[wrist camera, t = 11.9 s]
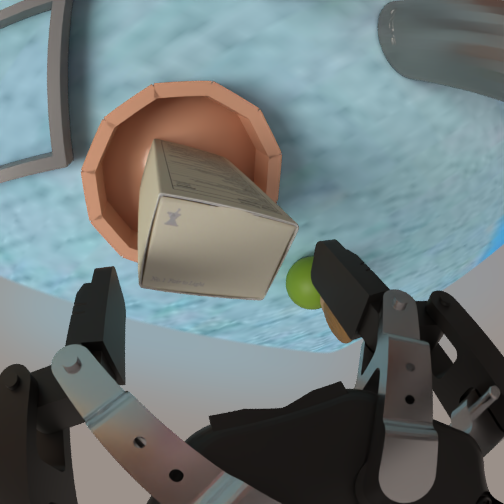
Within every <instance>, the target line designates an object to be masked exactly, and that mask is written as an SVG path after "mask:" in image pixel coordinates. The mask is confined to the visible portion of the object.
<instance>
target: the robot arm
mask: <svg viewBox="0 0 504 504" xmlns="http://www.w3.org/2000/svg"><path fill="white" fill-rule="evenodd" d="M378 36H379V41H380V45H381V47H382V50H383V53H384V55H385V56H386V58H387V60H388V62H389V63H390V64H391V66H392V67H393V68H394V69H395V70H396V71H397V72H398V73H399V74H401V75H402V76H404V77H406V78H409V79H414V80H420V81H426V82H431V83H436V84H440V85H445V86H450V87H454V88H458V89H462V90H466V91H470V92H473V93H477V94H481V95H484V96H487V97H490V98H494V99H497V100H500V101H503V102H504V0H399V1H393V2H390V3H388V4H387V5H385V6H384V8H383V9H382V10H381V13H380V15H379V19H378ZM311 281H312V284H313V286H314V287H315V289H316V290H317V292H318V293H319V294H320V296H321V297H322V299H323V300H324V302H325V303H326V305H327V306H328V307H329V309H330V310H331V312H332V313H333V315H334V316H335V318H336V319H337V320H338V322H339V323H340V325H341V326H342V328H343V329H344V331H345V332H346V334H347V335H348V337H349V338H350V340H354V339H357V338H360V337H362V338H363V339H364V341H363V343H362V346H361V353H360V361H359V368H358V375H357V381H356V384H355V388H354V389H345V387H344V385H343V384H342V382H341V381H340V382H337V383H334V384H331V385H328V386H325V387H322V388H319V389H316V390H313V391H311V392H309V393H308V394H306V395H304V396H303V397H301V398H300V399H298V400H296V401H294V402H293V403H291V404H289V405H288V406H286V407H283V408H277V409H276V408H275V409H242V410H238V411H233V412H228V413H223V414H217V415H212V416H209V420H210V425H209V426H206V427H204V428H202V429H201V430H199V431H197V432H195V433H194V434H193V435H191V436H190V437H189V438H188V439H187V440H186V441H185V442H184V441H183V440H182V439H180V438H179V437H178V436H177V435H175V434H174V433H173V432H172V431H171V430H170V429H169V428H167V427H166V426H165V425H164V424H163V423H162V422H161V421H159V420H158V419H157V418H156V417H155V416H154V415H153V414H152V413H151V412H150V411H149V410H148V409H147V408H145V407H144V406H143V405H142V404H141V403H140V402H139V401H138V400H137V399H136V398H135V397H134V396H133V395H132V394H131V393H130V392H128V391H126V392H125V391H124V390H123V389H122V388H121V387H120V386H119V385H125V321H126V309H125V302H124V298H123V294H122V291H121V287H120V284H119V280H118V276H117V273H116V269H115V267H114V266H112V267H104V268H96V269H95V270H94V273H93V278H92V282H91V283H85V284H83V286H82V287H81V288H80V290H79V291H78V292H77V294H76V298H75V302H74V307H73V311H72V315H71V320H70V325H69V330H68V334H67V340H66V345H65V347H63V348H62V349H60V350H59V351H58V352H57V353H56V354H55V356H54V358H53V360H52V364H51V365H50V366H48V367H45V368H42V369H40V370H37V371H34V372H31V373H30V372H29V371H28V370H27V368H26V367H25V366H23V365H20V364H13V365H11V366H8V367H7V368H6V369H5V370H4V371H3V372H2V373H1V375H0V504H78V503H77V497H76V491H75V485H74V477H73V469H72V459H71V446H70V427H72V426H75V425H78V424H81V423H84V422H86V425H87V426H88V428H89V429H90V430H91V432H92V433H93V434H94V435H95V437H96V438H97V439H98V440H99V441H100V443H101V444H102V445H103V446H104V447H105V449H106V450H107V451H108V452H109V453H110V454H111V455H112V456H113V458H114V459H115V460H116V461H117V462H118V463H119V464H120V465H121V466H122V467H123V468H124V469H125V470H126V471H127V472H128V473H129V474H130V475H131V476H132V477H133V478H134V479H135V480H136V481H137V482H138V483H139V484H140V485H141V486H142V487H143V488H144V489H145V490H146V491H147V492H148V493H149V494H151V497H150V499H149V500H148V502H147V504H503V503H501V502H500V501H498V500H496V499H495V498H494V497H493V496H492V495H491V494H490V492H489V490H488V487H487V483H486V479H485V473H484V461H483V457H484V456H485V455H486V454H487V453H489V452H490V450H492V449H493V448H494V447H495V446H496V445H497V444H498V443H499V442H500V441H502V440H503V439H504V357H503V355H502V354H501V353H500V352H499V350H498V349H497V348H496V346H495V345H494V344H493V343H492V341H491V340H490V339H489V338H488V336H487V335H486V334H485V333H484V332H483V330H482V329H481V328H480V327H479V326H478V324H477V323H476V322H475V321H474V320H473V319H472V317H471V316H470V315H469V314H468V313H467V312H466V311H465V309H464V308H463V307H462V306H461V305H460V304H459V303H458V302H457V301H456V300H455V299H454V298H453V297H452V296H451V295H450V294H448V293H446V292H444V291H434V292H432V293H431V295H430V297H429V299H428V301H415V300H414V299H413V298H412V297H411V296H410V295H409V294H407V293H406V292H403V291H400V290H390V289H389V288H388V287H387V286H386V285H385V284H384V283H383V282H382V281H381V280H380V279H379V277H378V276H377V275H376V274H375V273H374V272H373V271H372V270H370V268H369V267H368V266H367V265H366V264H364V262H363V261H362V260H361V259H360V258H359V257H358V256H357V255H356V254H354V253H352V252H351V251H349V250H346V249H345V248H344V247H343V246H342V245H341V244H340V243H339V242H338V241H337V240H335V239H334V240H326V241H319V242H317V244H316V247H315V252H314V258H313V263H312V268H311ZM443 334H445V335H446V337H447V338H448V339H449V341H450V342H451V343H452V345H453V346H454V347H455V349H456V351H457V359H456V361H455V362H454V364H453V363H452V361H451V360H450V358H449V357H448V356H447V354H446V353H445V352H444V350H443V349H442V347H441V346H440V345H439V343H438V342H439V341H440V339H441V337H442V336H443ZM432 389H433V391H434V392H435V394H436V395H437V397H438V399H439V401H440V402H441V404H442V405H443V407H444V409H445V410H446V412H447V414H448V415H449V417H450V418H451V424H450V425H446V424H444V423H441V422H439V421H436V420H433V392H432Z"/></svg>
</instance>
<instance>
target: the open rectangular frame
mask: <svg viewBox="0 0 504 504" xmlns="http://www.w3.org/2000/svg"><path fill="white" fill-rule="evenodd" d="M72 5H73V0H24V1H21V2H19V3H16V4H14V5H12V6H9V7H7V8H5V9H3V10H1V11H0V29H1V28H3V27H6V26H8V25H10V24H13V23H15V22H18V21H20V20H23V19H25V18H28V17H31V16H33V15H36V14H39V13H42V12H45V11H48V10H52V11H51V19H50V28H49V40H48V59H47V94H48V114H49V127H50V137H51V146H52V152H50V153H46V154H42V155H38V156H34V157H30V158H26V159H22V160H19V161H15V162H12V163H8V164H5V165H2V166H0V183H2V182H6V181H9V180H13V179H17V178H20V177H24V176H28V175H32V174H37V173H41V172H45V171H50V170H54V169H59V168H64V167H67V166H68V165H69V164H70V163H71V162H72V161H73V152H72V143H71V133H70V121H69V103H68V50H69V33H70V22H71V13H72Z"/></svg>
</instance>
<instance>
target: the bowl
mask: <svg viewBox="0 0 504 504" xmlns="http://www.w3.org/2000/svg"><path fill="white" fill-rule="evenodd" d="M154 139H160V140H164V141H169V142H173V143H177V144H181V145H185V146H189V147H193V148H196V149H200V150H203V151H207V152H210V153H213V154H216V155H219V156H222V157H225V158H227V159H228V160H229V161H230V162H231V163H232V164H234V165H235V166H236V167H237V168H238V169H239V170H240V171H241V172H242V173H244V174H245V175H246V176H247V177H248V178H249V179H250V180H251V181H252V182H253V183H255V184H256V185H257V186H258V187H259V188H260V189H261V190H262V191H263V192H264V193H265V194H266V195H267V196H268V197H269V198H271V199H272V200H273V201H274V202H275V203H277V200H278V194H279V183H280V172H281V161H282V155H281V150H280V148H279V146H278V144H277V142H276V140H275V138H274V136H273V134H272V132H271V130H270V128H269V126H268V124H267V122H266V120H265V118H264V116H263V114H262V112H261V110H260V109H259V108H258V107H256V106H255V105H253V104H252V103H250V102H248V101H247V100H245V99H243V98H242V97H240V96H238V95H237V94H235V93H233V92H232V91H230V90H228V89H226V88H225V87H223V86H221V85H219V84H218V83H216V82H214V81H213V82H211V81H183V82H166V83H154V86H153V85H152V84H151V85H150V86H148V87H147V88H145V89H144V90H142V91H140V92H139V93H137V94H136V95H135V96H133V97H132V98H130V99H129V100H127V101H126V102H124V103H123V104H122V105H120V106H119V107H117V108H116V109H115V110H113V111H112V112H111V113H109V114H108V115H107V116H105V117H104V119H102V121H101V123H100V126H99V128H98V130H97V132H96V135H95V137H94V139H93V142H92V144H91V146H90V149H89V151H88V154H87V156H86V159H85V161H84V164H83V166H82V169H81V170H82V171H81V176H82V182H83V189H84V194H85V200H86V205H87V211H88V216H89V220H90V221H91V222H90V223H91V224H92V225H93V226H94V227H95V228H96V229H97V231H98V232H99V233H100V234H101V235H102V236H103V237H104V238H105V239H106V241H107V242H108V243H109V244H110V245H111V246H112V247H113V248H114V249H115V250H116V251H117V253H118V254H119V255H120V256H123V258H126V259H129V260H132V261H134V262H137V263H138V209H139V190H140V185H141V180H142V176H143V172H144V168H145V165H146V161H147V158H148V154H149V151H150V148H151V145H152V142H153V140H154Z"/></svg>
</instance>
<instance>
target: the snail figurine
mask: <svg viewBox="0 0 504 504" xmlns="http://www.w3.org/2000/svg"><path fill="white" fill-rule="evenodd" d="M313 258H314V256H310V257H305V258H302V259H300V260H298V261H297V262H296V263H295V264H294V265H293V266H292V267H291V268H290V270H289V272H288V274H287V278H286V289H287V292H288V295H289V297H290V298H291V299H292V301H293V302H294V303H295V304H297V305H298V306H300V307H302V308H305V309H319V308H322V310H323V312H324V315H325V318H326V321H327V323H328V325H329V327H330V329H331V331H332V332H333V334H334V335H335V336H336V337H337V338H338V340H340V341H341V342H343V343H349V342H351V341H352V340H350V338H349V337H348V335H347V334H346V332H345V331H344V329H343V328H342V326H341V325H340V323H339V322H338V320H337V319H336V318H335V316H334V315H333V313H332V312H331V310H330V309H329V307H328V306H327V305H326V303H325V302H324V300H323V299H322V297H321V296H320V294H319V293H318V292H317V290H316V289H315V287H314V286H313V284H312V281H311V268H312V263H313Z"/></svg>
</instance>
